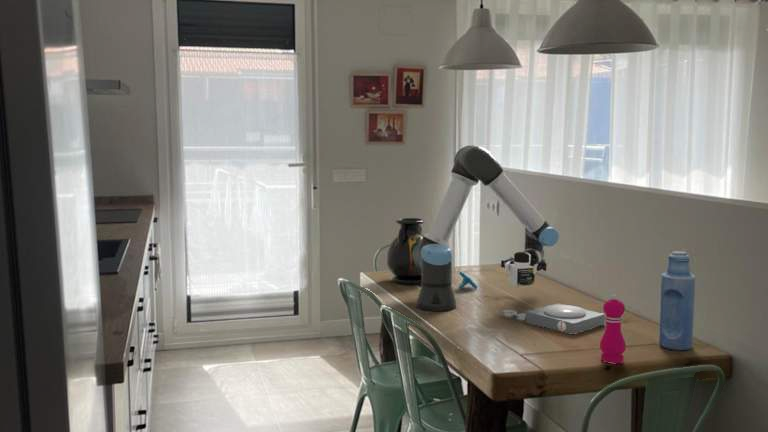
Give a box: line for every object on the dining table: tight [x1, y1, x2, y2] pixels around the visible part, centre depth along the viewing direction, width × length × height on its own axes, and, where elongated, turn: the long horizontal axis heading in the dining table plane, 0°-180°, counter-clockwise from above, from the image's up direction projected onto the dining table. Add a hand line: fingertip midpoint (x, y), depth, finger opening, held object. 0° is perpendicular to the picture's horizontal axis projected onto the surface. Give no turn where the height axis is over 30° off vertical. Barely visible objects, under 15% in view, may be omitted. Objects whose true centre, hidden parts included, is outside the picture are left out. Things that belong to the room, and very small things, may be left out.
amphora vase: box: [385, 217, 426, 286], centre depth 315 cm, size 22×22×28 cm
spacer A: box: [502, 309, 518, 320], centre depth 257 cm, size 5×5×2 cm
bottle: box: [658, 250, 696, 352], centre depth 219 cm, size 10×10×30 cm
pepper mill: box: [599, 294, 627, 364], centre depth 206 cm, size 7×7×20 cm
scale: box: [525, 302, 606, 334], centre depth 246 cm, size 18×20×5 cm
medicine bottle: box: [508, 251, 536, 288], centre depth 264 cm, size 7×7×12 cm
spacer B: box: [516, 313, 526, 323], centre depth 252 cm, size 5×5×2 cm
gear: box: [458, 271, 478, 290], centre depth 302 cm, size 11×6×10 cm
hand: (520, 269), depth 260 cm, fingers closed on medicine bottle, 10 cm apart
